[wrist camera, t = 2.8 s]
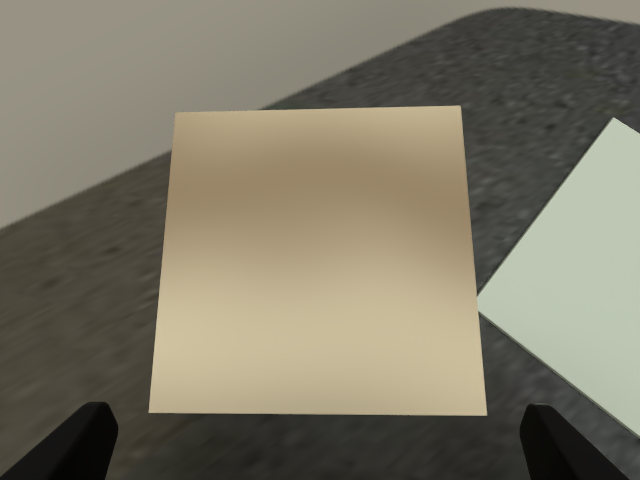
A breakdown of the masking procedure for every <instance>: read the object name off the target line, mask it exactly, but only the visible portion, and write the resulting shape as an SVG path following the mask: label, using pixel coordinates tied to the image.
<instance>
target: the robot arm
mask: <svg viewBox="0 0 640 480" xmlns="http://www.w3.org/2000/svg"><path fill="white" fill-rule="evenodd" d="M117 436H118V424H117V421H116V419H115V417H114V415H113V413H112V411H111V408H110V406H109V405H108V404H107V403H106V402H88V403H86V404H84V405H83V406H82V407H80V408H79V409H78V410H77V411H76V412H75V413H73V414H72V415H71V416H70V417H69V418H68V419H67V420H65V421H64V422H63V423H62V424H61V425H60V426H58V427H57V428H56V429H55V430H54V431H53V432H52V433H50V434H49V435H48V436H47V437H46V438H45V439H43V440H42V441H41V442H40V443H39V444H38V445H37V446H35V447H34V448H33V449H32V450H31V451H30V452H28V453H27V454H26V455H25V456H24V457H23V458H21V459H20V460H19V461H18V462H17V463H16V464H15V465H13V466H12V467H11V468H10V469H9V470H8V471H6V472H5V473H4V474H3V475H2V476H1V477H0V480H105V477H106V474H107V470H108V467H109V463H110V460H111V456H112V453H113V450H114V446H115V443H116V439H117ZM520 439H521V443H522V447H523V451H524V454H525V458H526V462H527V466H528V470H529V474H530V478H531V480H631V479H630V478H628V477H627V476H626V475H625V474H624V473H623V472H622V471H621V470H620V469H619V468H618V467H617V466H616V465H615V464H614V463H613V462H611V461H610V460H609V459H608V458H607V457H606V456H605V455H604V454H603V453H602V452H601V451H600V450H599V449H598V448H597V447H596V446H594V445H593V444H592V443H591V442H590V441H589V440H588V439H587V438H586V437H585V436H584V435H583V434H582V433H581V432H580V431H579V430H577V429H576V428H575V427H574V426H573V425H572V424H571V423H570V422H569V421H568V420H567V419H566V418H565V417H564V416H563V415H562V414H561V413H559V412H558V411H557V410H556V409H555V408H554V407H553V406H551V405H550V404H546V403H531V404H529V405H528V406H527V408H526V411H525V414H524V416H523V419H522V422H521V425H520Z"/></svg>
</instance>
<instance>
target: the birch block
mask: <svg viewBox="0 0 640 480" xmlns="http://www.w3.org/2000/svg"><path fill="white" fill-rule="evenodd" d="M149 413H235V414H355V415H475V416H487V409H486V397H485V386H484V374H483V362H482V351H481V339H480V328H479V316H478V304H477V293H476V281H475V269H474V258H473V246H472V234H471V223H470V211H469V200H468V188H467V176H466V165H465V153H464V141H463V130H462V118H461V107H460V106H430V107H388V108H347V109H305V110H263V111H221V112H179V113H176V114H175V124H174V135H173V146H172V157H171V169H170V180H169V191H168V202H167V213H166V225H165V236H164V247H163V258H162V269H161V280H160V292H159V303H158V314H157V325H156V336H155V348H154V359H153V370H152V381H151V392H150V403H149Z"/></svg>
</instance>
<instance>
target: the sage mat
mask: <svg viewBox="0 0 640 480" xmlns="http://www.w3.org/2000/svg"><path fill="white" fill-rule="evenodd" d="M477 304H478V314H480V315H481V316H482V317H483V318H485V319H486V320H487V321H489V322H490V323H491V324H492V325H494V326H495V327H496V328H498V329H499V330H500V331H501V332H503V333H504V334H505V335H507V336H508V337H509V338H510V339H512V340H513V341H514V342H516V343H517V344H518V345H519V346H521V347H522V348H523V349H525V350H526V351H527V352H528V353H530V354H531V355H532V356H534V357H535V358H536V359H537V360H539V361H540V362H541V363H543V364H544V365H545V366H546V367H548V368H549V369H550V370H552V371H553V372H554V373H555V374H557V375H558V376H559V377H561V378H562V379H563V380H564V381H566V382H567V383H568V384H570V385H571V386H572V387H573V388H575V389H576V390H577V391H579V392H580V393H581V394H582V395H584V396H585V397H586V398H588V399H589V400H590V401H591V402H593V403H594V404H595V405H597V406H598V407H599V408H600V409H602V410H603V411H604V412H606V413H607V414H608V415H609V416H611V417H612V418H613V419H614V420H616V421H617V422H618V423H620V424H621V425H622V426H623V427H625V428H626V429H627V430H629V431H630V432H631V433H632V434H634V435H635V436H636V437H638V438H639V439H640V134H639V133H638V132H636V131H634V130H633V129H631V128H630V127H628V126H626V125H625V124H623V123H622V122H620V121H618V120H617V119H615V118H614V117H613V118H612V119H611V120H610V121H609V122H608V123H607V124H606V126H605V127H604V128H603V129H602V131H601V132H600V133H599V135H598V136H597V137H596V139H595V140H594V141H593V143H592V144H591V145H590V147H589V148H588V149H587V151H586V152H585V153H584V154H583V156H582V157H581V158H580V160H579V161H578V162H577V164H576V165H575V166H574V168H573V169H572V170H571V172H570V173H569V174H568V175H567V177H566V178H565V179H564V181H563V182H562V183H561V185H560V186H559V187H558V189H557V190H556V191H555V193H554V194H553V195H552V196H551V198H550V199H549V200H548V202H547V203H546V204H545V206H544V207H543V208H542V210H541V211H540V212H539V214H538V215H537V216H536V218H535V219H534V220H533V221H532V223H531V224H530V225H529V227H528V228H527V229H526V231H525V232H524V233H523V235H522V236H521V237H520V239H519V240H518V241H517V242H516V244H515V245H514V246H513V248H512V249H511V250H510V252H509V253H508V254H507V256H506V257H505V258H504V260H503V261H502V262H501V264H500V265H499V266H498V267H497V269H496V270H495V271H494V273H493V274H492V275H491V277H490V278H489V279H488V281H487V282H486V283H485V285H484V286H483V287H482V288H481V290H480V291H479V292H478V294H477Z"/></svg>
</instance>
